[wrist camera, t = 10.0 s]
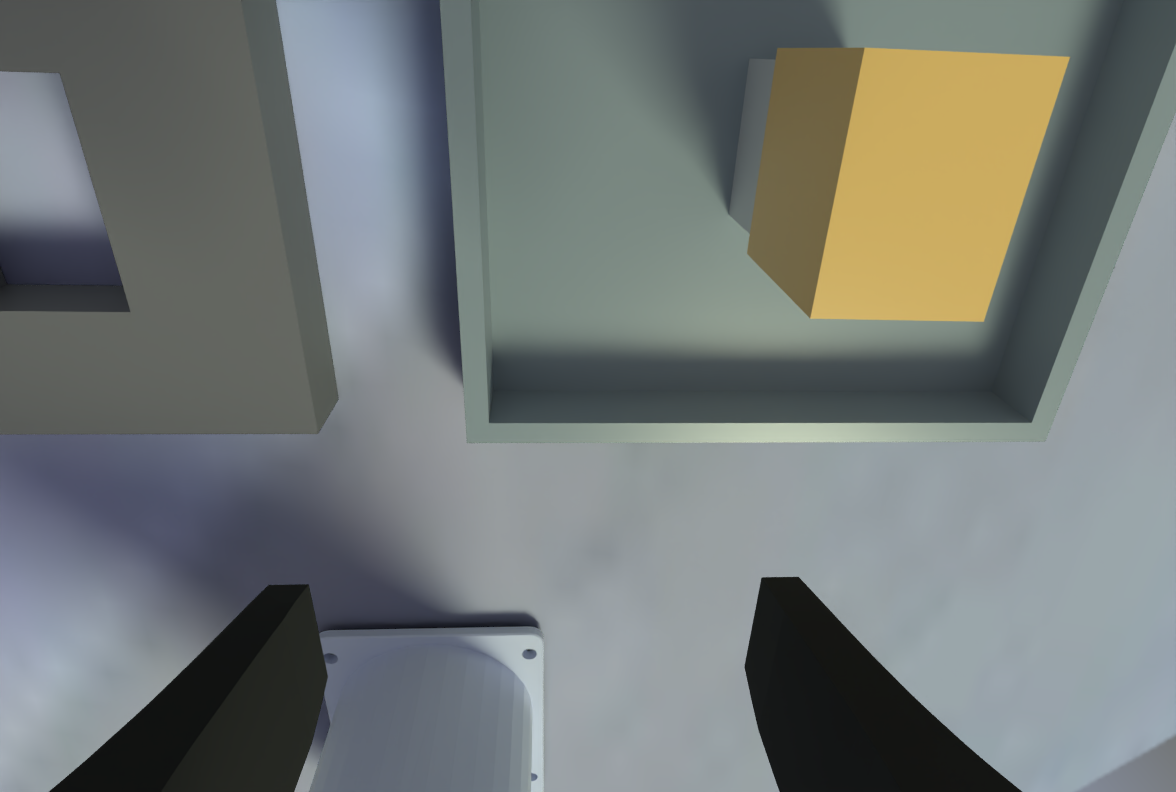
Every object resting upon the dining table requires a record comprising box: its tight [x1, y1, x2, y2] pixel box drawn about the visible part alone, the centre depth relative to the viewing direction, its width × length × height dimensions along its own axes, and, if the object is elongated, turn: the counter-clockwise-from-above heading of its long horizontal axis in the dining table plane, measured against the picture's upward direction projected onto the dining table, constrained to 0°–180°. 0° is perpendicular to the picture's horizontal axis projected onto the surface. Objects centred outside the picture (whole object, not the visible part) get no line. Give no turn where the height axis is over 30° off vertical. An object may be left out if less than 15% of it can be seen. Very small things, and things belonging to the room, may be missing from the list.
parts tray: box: [440, 0, 1176, 443], centre depth 16 cm, size 14×16×2 cm
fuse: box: [729, 48, 1070, 322], centre depth 13 cm, size 4×3×7 cm
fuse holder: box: [0, 0, 338, 434], centre depth 16 cm, size 12×12×2 cm
